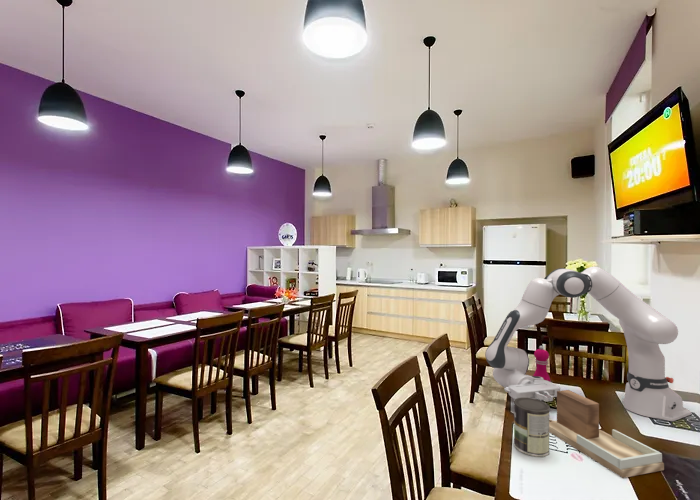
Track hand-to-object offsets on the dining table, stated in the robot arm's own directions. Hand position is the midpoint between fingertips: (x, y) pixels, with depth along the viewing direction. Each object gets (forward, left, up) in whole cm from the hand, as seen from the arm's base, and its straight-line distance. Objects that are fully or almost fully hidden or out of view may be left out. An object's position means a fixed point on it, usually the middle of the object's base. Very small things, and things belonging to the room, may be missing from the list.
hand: (549, 399), depth 134 cm
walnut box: (0, +12, -6) cm, 13 cm away
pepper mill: (-19, -25, -8) cm, 32 cm away
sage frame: (0, +26, -6) cm, 26 cm away
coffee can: (+21, +15, -8) cm, 27 cm away
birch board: (0, +19, -8) cm, 21 cm away
